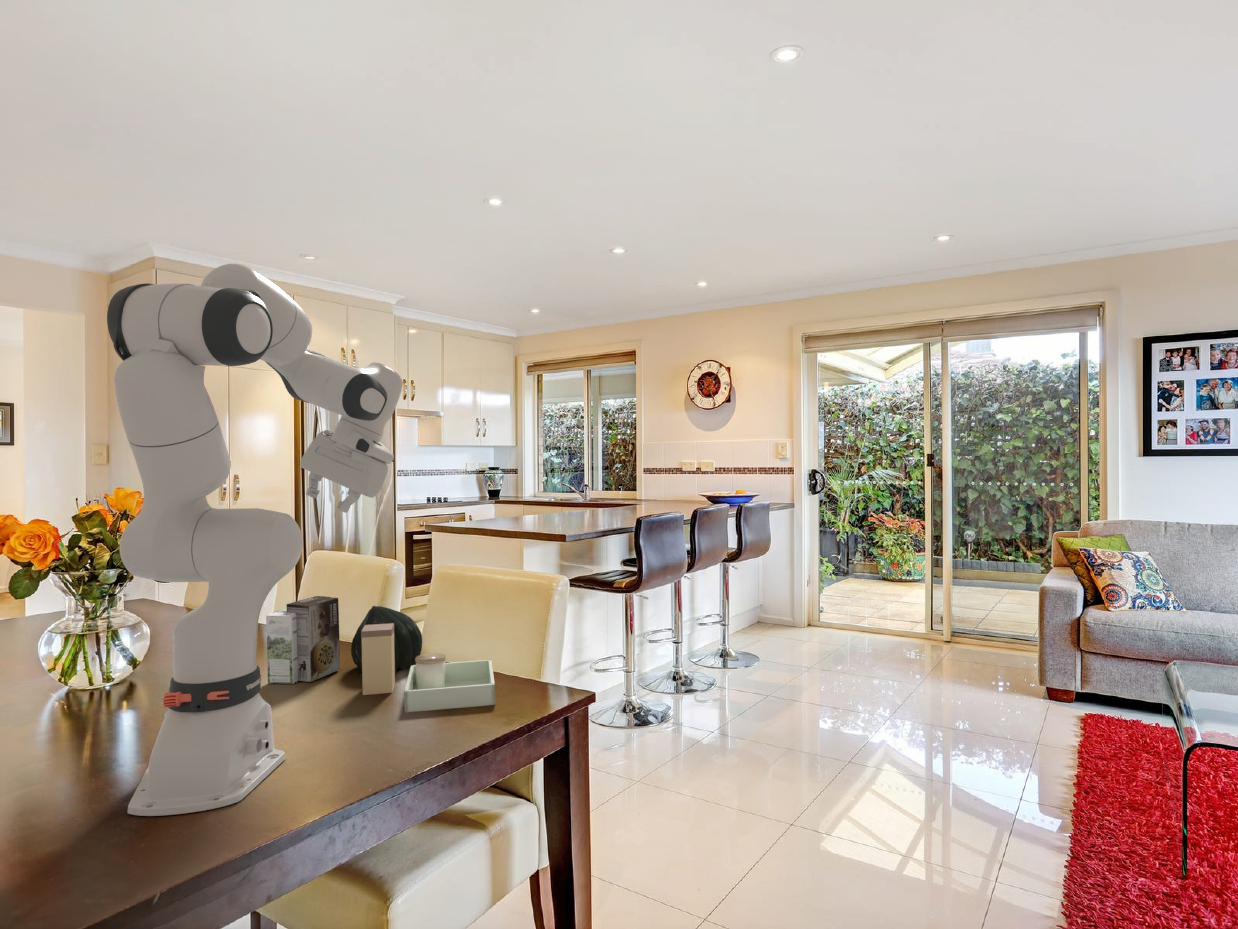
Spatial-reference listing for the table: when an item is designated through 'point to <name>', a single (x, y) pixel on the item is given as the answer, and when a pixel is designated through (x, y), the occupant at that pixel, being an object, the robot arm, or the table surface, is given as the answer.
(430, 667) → the jar
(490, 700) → the tray
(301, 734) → the table surface
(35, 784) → the table surface
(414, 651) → the squash
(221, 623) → the robot arm
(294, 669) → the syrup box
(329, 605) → the coffee box
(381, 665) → the carton
